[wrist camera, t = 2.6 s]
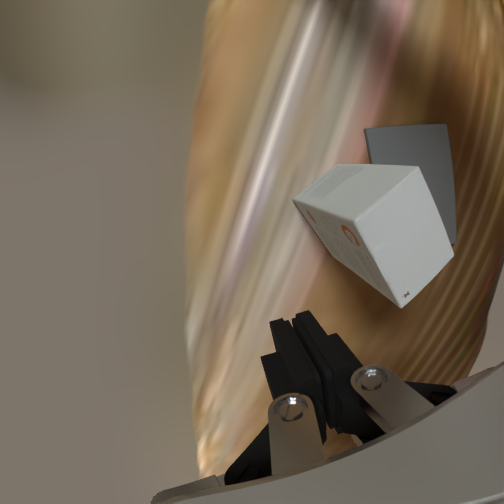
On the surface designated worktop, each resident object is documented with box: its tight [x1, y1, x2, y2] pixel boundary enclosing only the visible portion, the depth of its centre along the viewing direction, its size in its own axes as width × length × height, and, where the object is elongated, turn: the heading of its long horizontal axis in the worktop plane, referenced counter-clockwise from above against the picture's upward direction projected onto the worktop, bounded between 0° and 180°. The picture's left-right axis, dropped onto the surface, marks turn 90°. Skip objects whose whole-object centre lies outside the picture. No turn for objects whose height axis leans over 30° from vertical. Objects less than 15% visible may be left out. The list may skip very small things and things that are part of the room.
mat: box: [364, 124, 456, 245], centre depth 30 cm, size 16×13×1 cm
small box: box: [293, 164, 454, 308], centre depth 23 cm, size 8×6×13 cm
